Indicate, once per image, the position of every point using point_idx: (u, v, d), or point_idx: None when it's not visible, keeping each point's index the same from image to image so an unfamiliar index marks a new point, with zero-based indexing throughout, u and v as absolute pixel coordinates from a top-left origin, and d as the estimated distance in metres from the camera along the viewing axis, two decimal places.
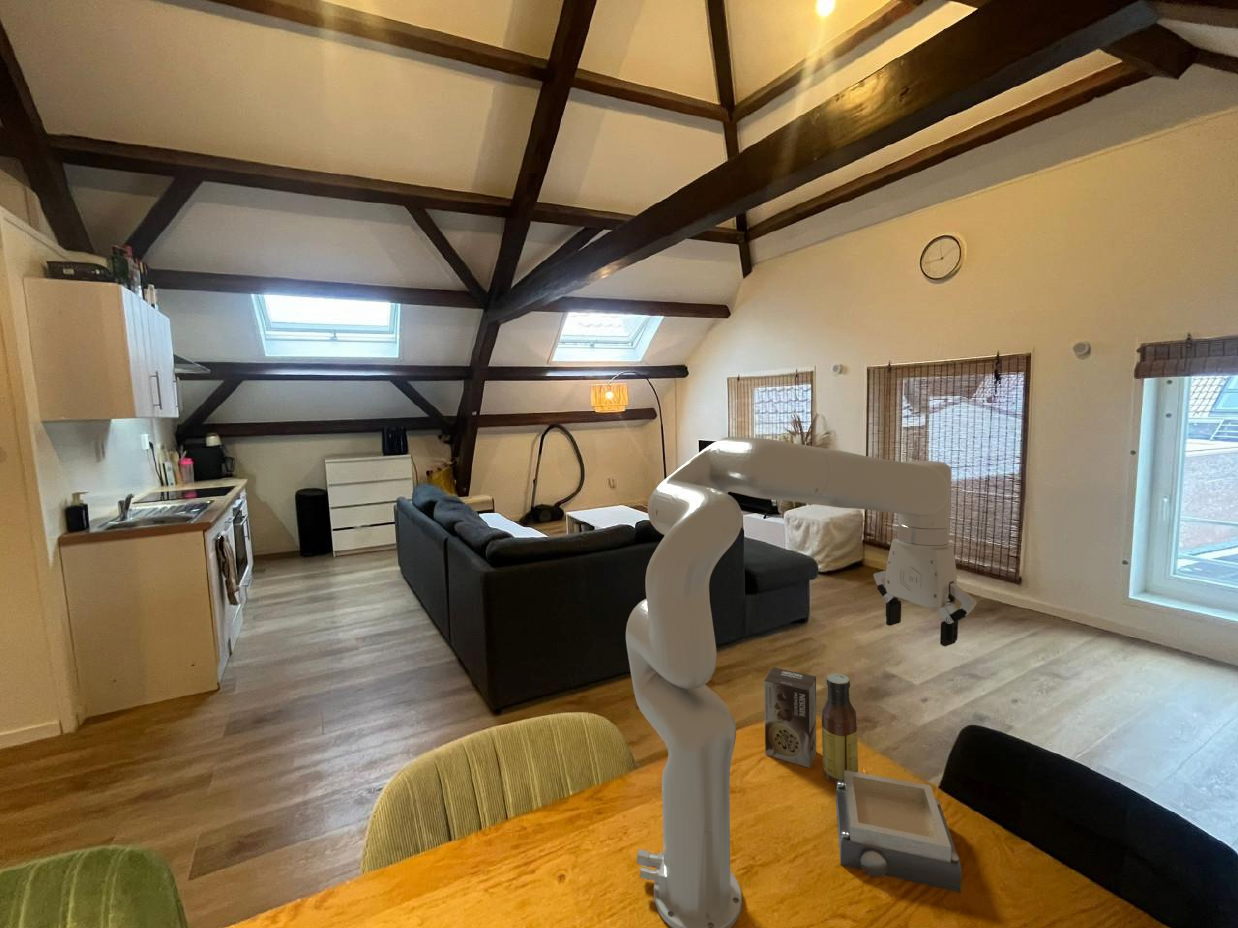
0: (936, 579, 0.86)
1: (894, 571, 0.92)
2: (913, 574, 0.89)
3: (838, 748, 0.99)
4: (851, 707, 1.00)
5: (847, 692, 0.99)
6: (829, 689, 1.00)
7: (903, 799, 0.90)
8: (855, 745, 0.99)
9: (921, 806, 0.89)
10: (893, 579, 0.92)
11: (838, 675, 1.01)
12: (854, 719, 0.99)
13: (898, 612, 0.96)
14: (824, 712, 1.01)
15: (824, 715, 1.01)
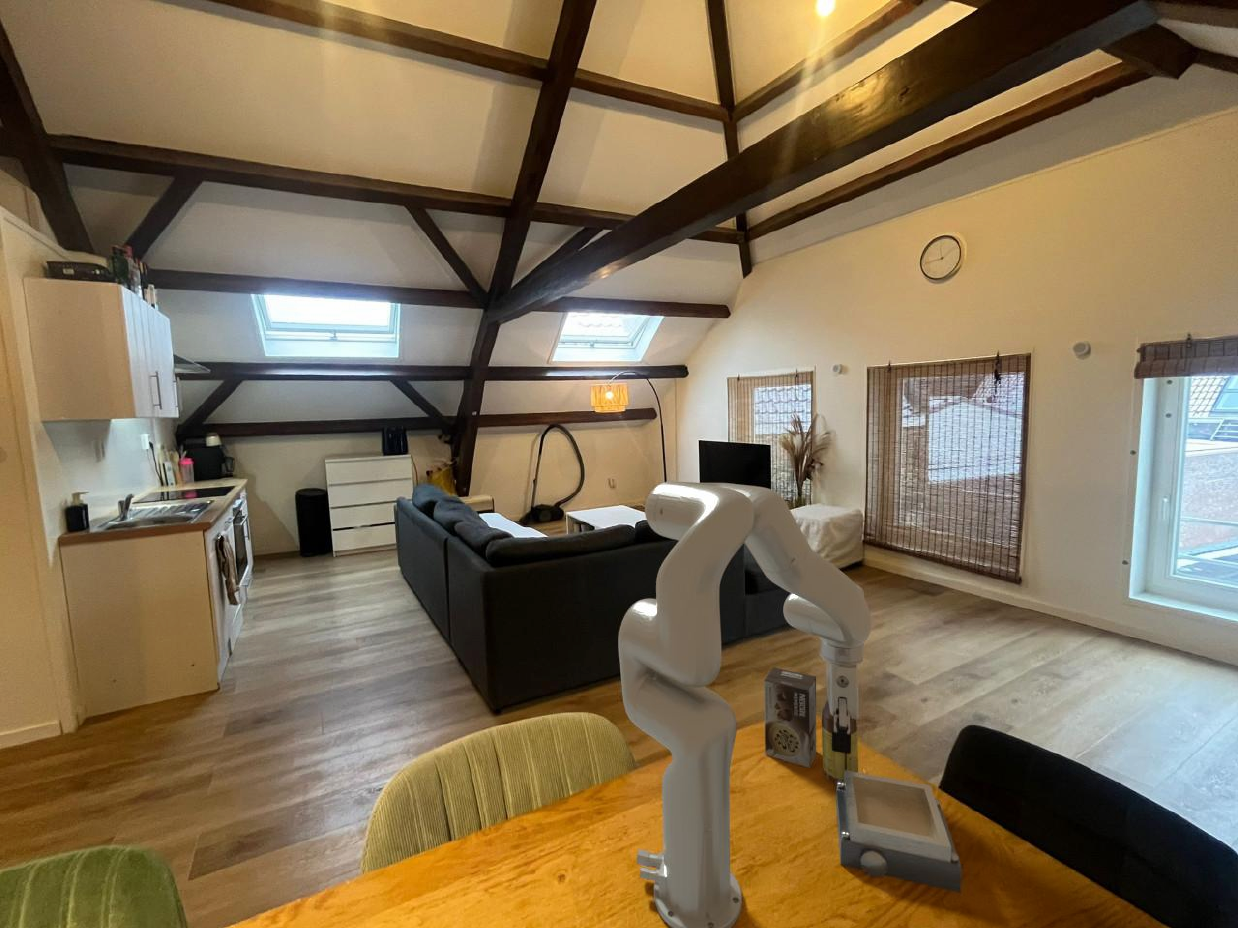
0: None
1: None
2: None
3: None
4: None
5: None
6: None
7: (903, 799, 0.90)
8: (855, 745, 0.99)
9: (921, 806, 0.89)
10: None
11: None
12: (854, 719, 0.99)
13: None
14: (824, 712, 1.01)
15: (824, 715, 1.01)
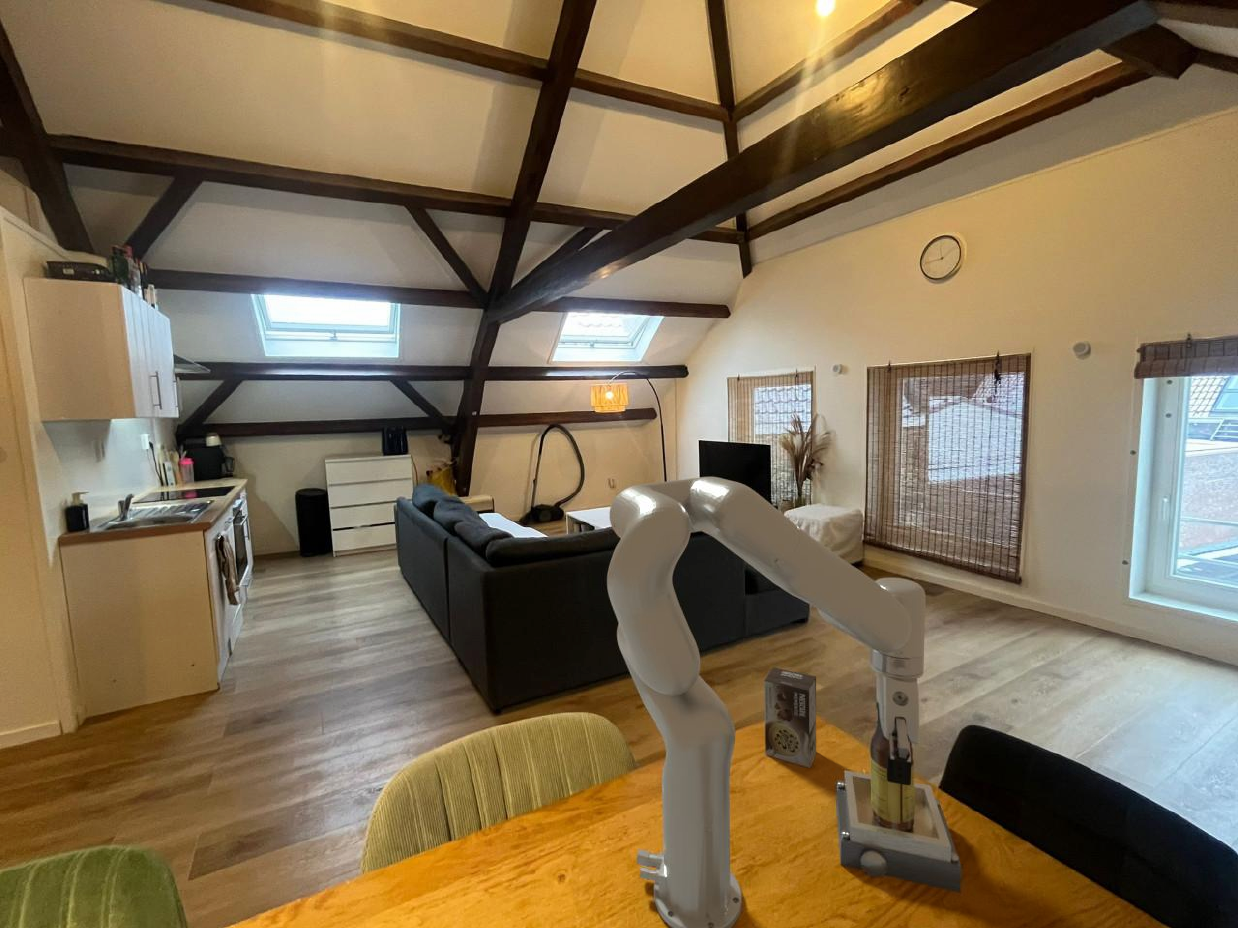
0: None
1: None
2: None
3: (892, 785, 0.83)
4: None
5: None
6: None
7: None
8: (912, 781, 0.83)
9: (921, 806, 0.89)
10: None
11: None
12: (911, 751, 0.83)
13: None
14: (874, 742, 0.85)
15: (874, 745, 0.85)
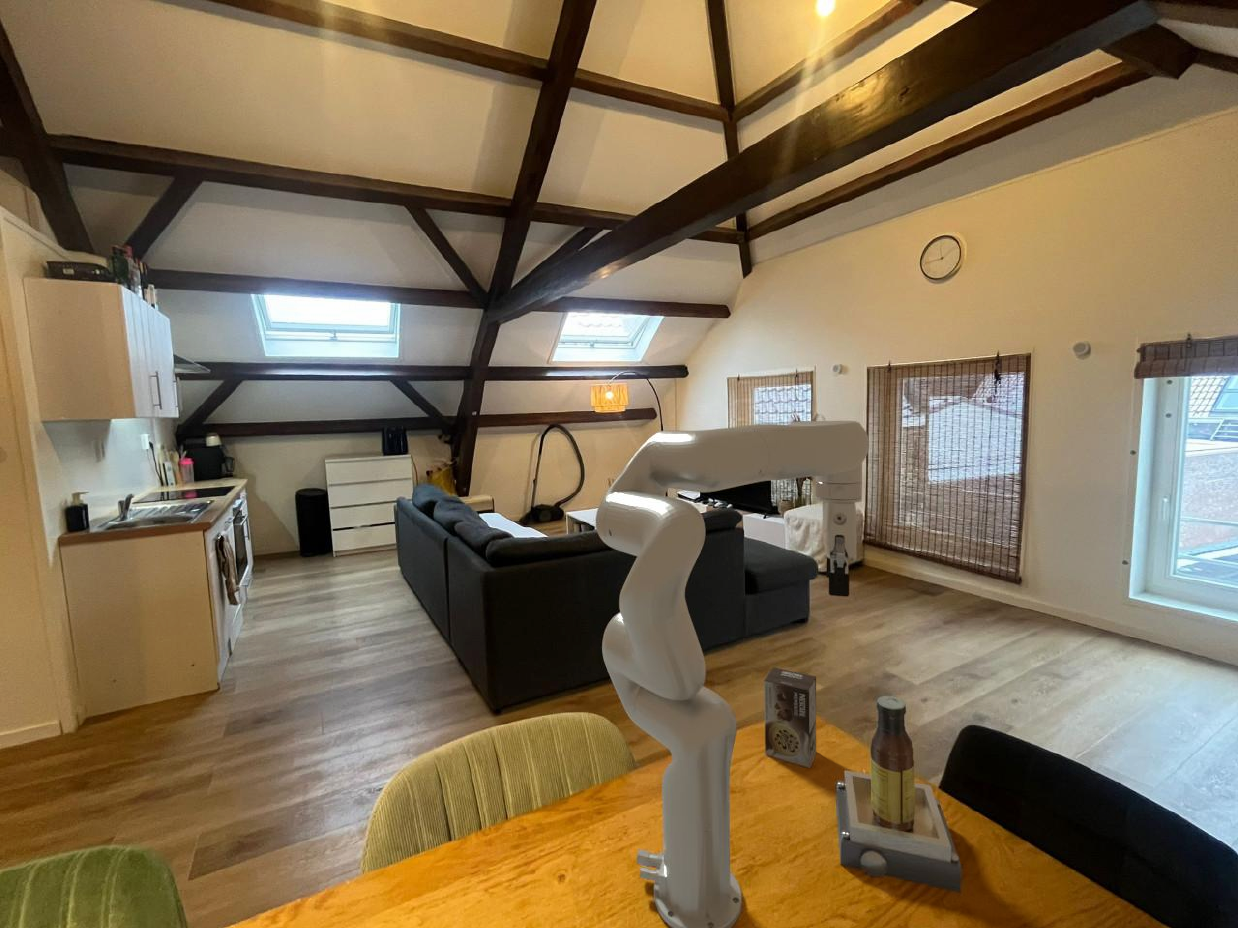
0: None
1: None
2: None
3: (892, 785, 0.83)
4: (907, 736, 0.84)
5: (903, 719, 0.83)
6: (880, 715, 0.84)
7: None
8: (912, 782, 0.83)
9: (921, 806, 0.89)
10: None
11: (890, 698, 0.85)
12: (912, 751, 0.83)
13: None
14: (874, 742, 0.85)
15: (874, 746, 0.84)
